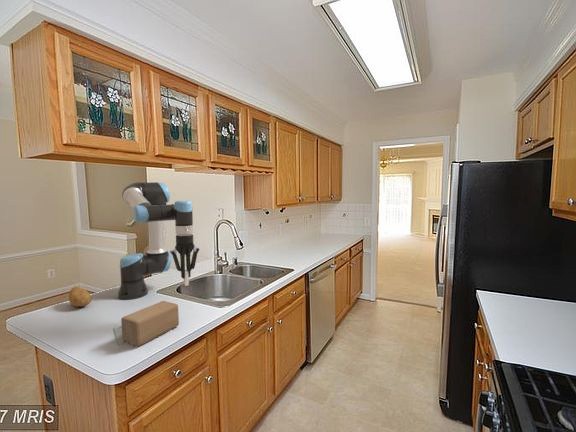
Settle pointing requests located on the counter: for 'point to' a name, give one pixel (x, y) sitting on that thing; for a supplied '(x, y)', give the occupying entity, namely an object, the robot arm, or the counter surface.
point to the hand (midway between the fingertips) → (186, 284)
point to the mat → (120, 335)
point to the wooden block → (149, 322)
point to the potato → (79, 297)
